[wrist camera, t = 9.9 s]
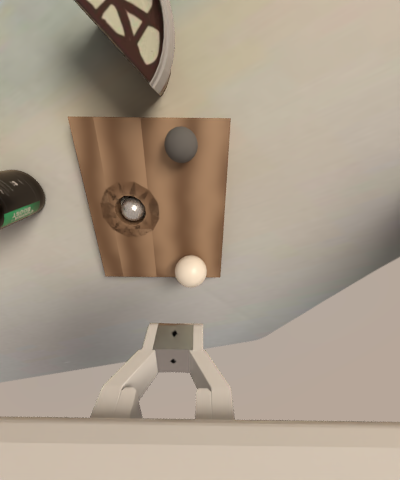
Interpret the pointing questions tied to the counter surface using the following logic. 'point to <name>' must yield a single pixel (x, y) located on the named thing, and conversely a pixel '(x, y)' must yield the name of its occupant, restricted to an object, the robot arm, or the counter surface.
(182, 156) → the gray rubber ball
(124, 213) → the steel ball
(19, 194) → the supplement bottle
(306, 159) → the counter surface
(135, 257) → the board
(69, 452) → the robot arm
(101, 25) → the food container
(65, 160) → the counter surface
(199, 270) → the cream plastic ball
